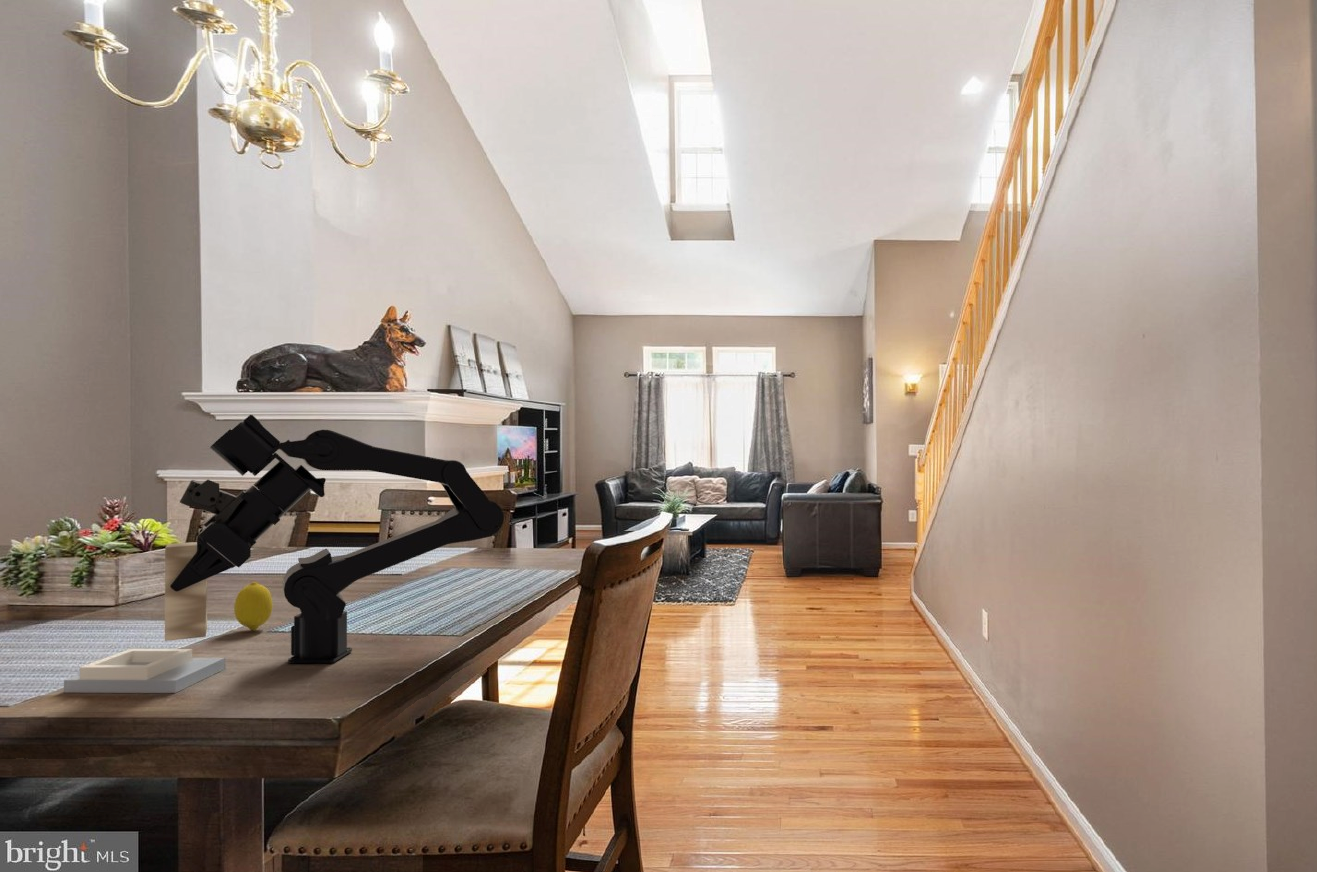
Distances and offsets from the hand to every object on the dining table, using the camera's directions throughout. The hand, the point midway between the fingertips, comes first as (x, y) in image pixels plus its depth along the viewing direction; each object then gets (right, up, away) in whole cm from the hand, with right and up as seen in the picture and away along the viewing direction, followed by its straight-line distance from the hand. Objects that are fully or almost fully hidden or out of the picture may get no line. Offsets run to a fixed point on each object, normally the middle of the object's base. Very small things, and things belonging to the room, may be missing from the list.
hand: (174, 586), depth 98 cm
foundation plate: (-2, -12, -2) cm, 12 cm away
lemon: (-3, -13, +25) cm, 28 cm away
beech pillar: (+1, -7, +1) cm, 7 cm away
